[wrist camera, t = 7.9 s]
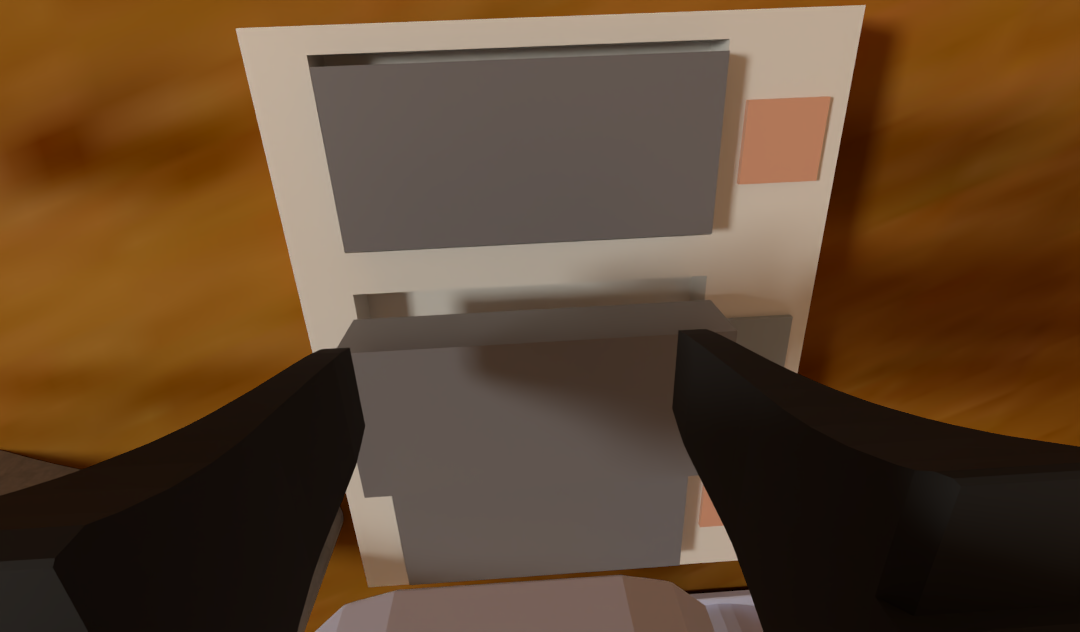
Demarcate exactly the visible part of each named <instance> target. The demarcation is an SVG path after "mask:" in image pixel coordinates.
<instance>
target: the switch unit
mask: <svg viewBox="0 0 1080 632" xmlns="http://www.w3.org/2000/svg"><path fill="white" fill-rule="evenodd" d="M865 6H866V5H857V6H830V7H803V8H775V9H748V10H721V11H694V12H667V13H639V14H612V15H585V16H558V17H530V18H503V19H476V20H449V21H422V22H394V23H367V24H340V25H313V26H286V27H258V28H236V32H237V37H238V41H239V45H240V49H241V53H242V58H243V62H244V66H245V70H246V74H247V79H248V83H249V87H250V91H251V96H252V100H253V104H254V108H255V112H256V117H257V121H258V125H259V129H260V133H261V138H262V142H263V146H264V150H265V154H266V159H267V163H268V167H269V171H270V175H271V180H272V184H273V188H274V192H275V196H276V201H277V205H278V209H279V213H280V217H281V222H282V226H283V230H284V234H285V239H286V243H287V247H288V251H289V255H290V260H291V264H292V268H293V272H294V276H295V281H296V285H297V289H298V293H299V297H300V302H301V306H302V310H303V314H304V318H305V323H306V327H307V331H308V335H309V339H310V344H311V348H312V352H313V353H314V352H316V351H318V350H320V349H332V348H337V347H338V345H339V343H340V342H341V340H342V338H343V337H344V335H345V333H346V332H347V330H348V328H349V327H350V325H351V323H352V322H353V320H356V319H374V318H392V317H410V316H428V315H446V314H464V313H482V312H500V311H518V310H536V309H554V308H572V307H590V306H607V305H625V304H643V303H661V302H679V301H697V300H711V301H712V302H713V303H714V304H715V306H716V307H717V308H718V309H719V310H720V311H721V312H722V314H723V315H724V316H725V317H726V318H727V319H728V320H729V322H730V323H731V324H732V325H733V326H734V327H735V329H736V330H737V339H736V343H738V344H739V345H741V346H743V347H745V348H747V349H749V350H751V351H753V352H755V353H757V354H759V355H761V356H763V357H764V358H766V359H768V360H770V361H772V362H774V363H776V364H778V365H780V366H783V367H785V368H787V369H789V370H791V371H793V372H795V373H798V368H799V362H800V357H801V352H802V346H803V341H804V335H805V330H806V325H807V319H808V314H809V308H810V303H811V298H812V292H813V287H814V281H815V276H816V271H817V265H818V260H819V254H820V249H821V244H822V238H823V233H824V227H825V222H826V217H827V211H828V206H829V200H830V195H831V190H832V184H833V179H834V173H835V168H836V163H837V157H838V152H839V146H840V141H841V136H842V130H843V125H844V119H845V114H846V109H847V103H848V98H849V92H850V87H851V82H852V76H853V71H854V65H855V60H856V55H857V49H858V44H859V38H860V33H861V28H862V22H863V17H864V11H865ZM705 51H730V55H729V65H728V75H727V86H726V96H725V106H724V116H723V126H722V137H721V147H720V157H719V167H718V178H717V188H716V198H715V208H714V219H713V229H712V234H695V235H676V236H656V237H637V238H617V239H598V240H578V241H559V242H539V243H520V244H501V245H481V246H462V247H442V248H423V249H403V250H384V251H364V252H345V248H344V243H343V238H342V233H341V228H340V222H339V217H338V212H337V207H336V202H335V196H334V191H333V186H332V181H331V176H330V171H329V165H328V160H327V155H326V150H325V145H324V139H323V134H322V129H321V124H320V119H319V113H318V108H317V103H316V98H315V93H314V88H313V82H312V77H311V72H310V67H324V66H350V65H375V64H401V63H426V62H451V61H477V60H502V59H528V58H553V57H578V56H604V55H629V54H654V53H680V52H705ZM346 495H347V499H348V503H349V508H350V512H351V516H352V520H353V524H354V529H355V533H356V537H357V541H358V546H359V550H360V554H361V558H362V562H363V567H364V571H365V575H366V579H367V583H368V587H378V586H391V585H405V584H409V580H408V575H407V570H406V565H405V560H404V554H403V549H402V544H401V539H400V534H399V529H398V523H397V518H396V513H395V508H394V503H393V497H392V496H385V497H370V498H365V497H364V493H363V488H362V484H361V479H360V475H359V470H358V465H357V464H356V467H355V469H354V472H353V475H352V477H351V480H350V482H349V485H348V487H347V490H346ZM735 560H738V559H737V556H736V553H735V550H734V548H733V545H732V543H731V541H730V539H729V536H728V534H727V532H726V530H725V527H724V525H723V523H722V521H721V519H720V517H719V515H718V513H717V511H716V509H715V507H714V505H713V503H712V501H711V499H710V497H709V495H708V493H707V491H706V489H705V487H704V485H703V483H702V481H701V479H700V477H699V475H698V476H688V484H687V495H686V505H685V515H684V525H683V536H682V546H681V556H680V564H693V563H707V562H721V561H735Z"/></svg>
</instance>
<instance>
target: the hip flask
mask: <svg viewBox="0 0 1080 632" xmlns="http://www.w3.org/2000/svg"><path fill="white" fill-rule="evenodd" d="M79 470H81V469H76V468H71V467H66V466H62V465H57V464H53V463H48V462H44V461H40V460H36V459H32V458H28V457H24V456H21V455H17V454H13V453H10V452H6V451H2V450H0V496H1V495H4V494H7V493H11V492H14V491H18V490H21V489H24V488H27V487H30V486H34V485H37V484H40V483H43V482H46V481H50V480H53V479H56V478H59V477H62V476H65V475H67V474H70V473H73V472H76V471H79ZM342 524H343V513H342V510H341V508H340V507H339V510H338V512H337V515H336V517H335V520H334V522H333V524H332V527H331V529H330V532H329V534H328V537H327V539H326V542H325V544H324V547H323V549H322V552H321V554H320V557H319V560H318V563H317V565H316V568H315V571H314V574H313V577H312V581H311V584H310V588H309V591H308V595H307V598H306V602H305V606H304V609H303V613H302V616H301V620H300V623H299V627H298V631H297V632H304V631H305V628H306V625H307V622H308V620H309V617H310V614H311V611H312V608H313V606H314V603H315V600H316V597H317V594H318V592H319V589H320V586H321V583H322V580H323V578H324V575H325V572H326V569H327V566H328V563H329V561H330V558H331V555H332V552H333V549H334V547H335V544H336V541H337V538H338V535H339V533H340V530H341V527H342Z"/></svg>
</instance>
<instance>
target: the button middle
mask: <svg viewBox="0 0 1080 632" xmlns="http://www.w3.org/2000/svg"><path fill="white" fill-rule="evenodd" d="M694 329H708V330H710V331H713V332H715V333H718V334H720V335H722V336H724V337H726V338H728V339H730V340H732V341H734V342H736V339H737V330H736V329H735V327H734V326H733V325H732V324H731V323H730V322H729V320H728V319H727V318H726V317H725V316H724V315H723V314H722V312H721V311H720V310H719V309H718V308H717V307H716V306H715V304H714V303H713V302H712V301H711V300H697V301H679V302H661V303H643V304H625V305H607V306H590V307H572V308H554V309H536V310H518V311H500V312H482V313H464V314H446V315H428V316H410V317H392V318H374V319H356V320H353V322H352V323H351V325H350V327H349V328H348V330H347V332H346V333H345V335H344V337H343V338H342V340H341V342H340V343H339V345H338V347H337V348H350V351H351V356H352V361H353V366H354V371H355V376H356V381H357V386H358V392H359V397H360V402H361V407H362V412H363V417H364V422H365V430H364V434H363V439H362V443H361V448H360V452H359V456H358V460H357V465H358V470H359V475H360V479H361V484H362V488H363V493H364V497H365V498H370V497H385V496H400V495H415V494H430V493H445V492H460V491H474V490H489V489H504V488H519V487H534V486H549V485H564V484H579V483H594V482H609V481H624V480H638V479H653V478H668V477H683V476H698V473H697V471H696V469H695V467H694V465H693V463H692V461H691V459H690V457H689V455H688V453H687V451H686V448H685V446H684V444H683V441H682V438H681V435H680V432H679V429H678V426H677V423H676V419H675V416H674V413H673V410H672V404H673V392H674V379H675V367H676V355H677V342H678V330H694Z"/></svg>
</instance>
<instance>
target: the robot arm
mask: <svg viewBox="0 0 1080 632" xmlns="http://www.w3.org/2000/svg"><path fill="white" fill-rule="evenodd" d="M672 410H673V413H674V416H675V419H676V423H677V426H678V429H679V432H680V435H681V438H682V441H683V444H684V446H685V448H686V451H687V453H688V455H689V457H690V459H691V461H692V463H693V465H694V467H695V469H696V471H697V473H698V475H699V477H700V479H701V481H702V483H703V485H704V487H705V489H706V491H707V493H708V495H709V497H710V499H711V501H712V503H713V505H714V507H715V509H716V511H717V513H718V515H719V517H720V519H721V521H722V523H723V525H724V527H725V530H726V532H727V534H728V536H729V539H730V541H731V543H732V545H733V548H734V550H735V553H736V556H737V559H738V561H739V564H740V567H741V569H742V572H743V575H744V578H745V580H746V583H747V586H748V588H749V590H739V591H725V592H712V593H699V594H688V593H687V592H685V591H684V590H682V589H681V588H679V587H678V586H676V585H675V584H674V583H672V582H668V581H664V580H657V579H649V578H641V577H633V576H625V575H609V576H595V577H580V578H566V579H551V580H536V581H522V582H507V583H492V584H478V585H463V586H448V587H434V588H419V589H404V590H396V591H392V592H388V593H384V594H381V595H377V596H373V597H369V598H366V599H362V600H358V601H354V602H351V603H348V604H346V605H344V606H343V607H341V608H340V609H339V610H338V611H337V612H336V613H335V614H334V615H333V616H332V617H330V618H329V619H328V620H327V621H326V622H325V623H324V624H323V625H322V626H321V627H320V628H318V629H317V630H316V631H315V632H1080V447H1077V446H1071V445H1064V444H1058V443H1051V442H1044V441H1038V440H1031V439H1024V438H1018V437H1011V436H1005V435H1000V434H994V433H989V432H985V431H980V430H975V429H970V428H965V427H960V426H956V425H951V424H947V423H943V422H939V421H935V420H930V419H926V418H923V417H919V416H915V415H912V414H908V413H905V412H901V411H898V410H894V409H890V408H887V407H884V406H881V405H878V404H874V403H871V402H868V401H865V400H862V399H860V398H857V397H854V396H851V395H849V394H846V393H843V392H840V391H838V390H835V389H832V388H830V387H827V386H825V385H822V384H820V383H818V382H815V381H813V380H811V379H809V378H806V377H804V376H802V375H800V374H797V373H795V372H793V371H791V370H789V369H787V368H785V367H783V366H780V365H778V364H776V363H774V362H772V361H770V360H768V359H766V358H764V357H763V356H761V355H759V354H757V353H755V352H753V351H751V350H749V349H747V348H745V347H743V346H741V345H739V344H738V343H736V342H734V341H732V340H730V339H728V338H726V337H724V336H722V335H720V334H718V333H715V332H713V331H710V330H708V329H694V330H678V342H677V355H676V367H675V379H674V392H673V404H672ZM364 430H365V422H364V417H363V412H362V407H361V402H360V397H359V392H358V386H357V381H356V376H355V371H354V366H353V361H352V356H351V351H350V348H332V349H320V350H318V351H316V352H314V353H312V354H310V355H308V356H306V357H305V358H303V359H301V360H300V361H298V362H296V363H295V364H293V365H291V366H290V367H288V368H287V369H285V370H283V371H282V372H280V373H279V374H277V375H275V376H274V377H272V378H271V379H269V380H267V381H266V382H264V383H262V384H261V385H259V386H258V387H256V388H254V389H253V390H251V391H249V392H248V393H246V394H244V395H242V396H241V397H239V398H237V399H235V400H234V401H232V402H230V403H228V404H227V405H225V406H223V407H221V408H220V409H218V410H216V411H214V412H213V413H211V414H209V415H207V416H205V417H203V418H201V419H199V420H197V421H196V422H194V423H192V424H190V425H188V426H186V427H183V428H181V429H179V430H177V431H175V432H173V433H171V434H168V435H166V436H164V437H162V438H160V439H158V440H155V441H153V442H151V443H149V444H146V445H144V446H141V447H139V448H136V449H134V450H131V451H129V452H126V453H124V454H121V455H118V456H116V457H113V458H111V459H108V460H106V461H103V462H101V463H98V464H96V465H93V466H90V467H88V468H85V469H82V470H79V471H76V472H73V473H70V474H67V475H65V476H62V477H59V478H56V479H53V480H50V481H46V482H43V483H40V484H37V485H34V486H30V487H27V488H24V489H21V490H18V491H14V492H11V493H7V494H4V495H1V496H0V632H297V631H298V627H299V623H300V620H301V616H302V613H303V609H304V606H305V602H306V598H307V595H308V591H309V588H310V584H311V581H312V577H313V574H314V571H315V568H316V565H317V563H318V560H319V557H320V554H321V552H322V549H323V547H324V544H325V542H326V539H327V537H328V534H329V532H330V529H331V527H332V524H333V522H334V520H335V517H336V515H337V512H338V510H339V507H340V505H341V502H342V500H343V497H344V495H345V492H346V490H347V487H348V485H349V482H350V480H351V477H352V475H353V472H354V469H355V467H356V464H357V460H358V456H359V452H360V448H361V443H362V439H363V434H364Z"/></svg>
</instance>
